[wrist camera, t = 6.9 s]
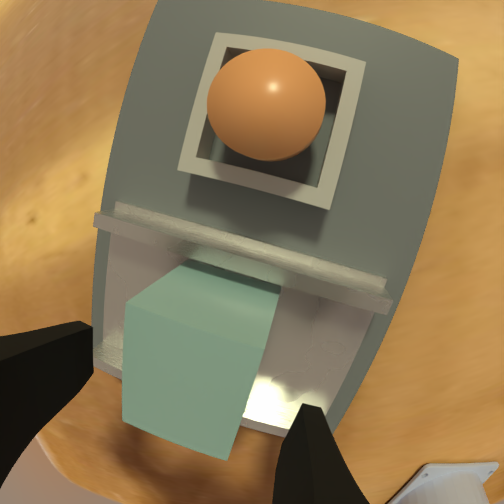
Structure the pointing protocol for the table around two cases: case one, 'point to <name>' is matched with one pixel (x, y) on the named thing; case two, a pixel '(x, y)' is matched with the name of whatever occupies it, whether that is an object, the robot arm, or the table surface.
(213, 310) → the block
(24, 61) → the table surface
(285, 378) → the metal rail
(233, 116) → the button
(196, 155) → the button housing
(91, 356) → the robot arm
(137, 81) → the holder board
